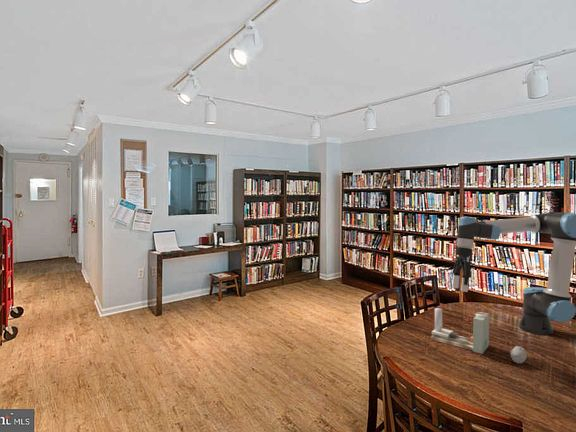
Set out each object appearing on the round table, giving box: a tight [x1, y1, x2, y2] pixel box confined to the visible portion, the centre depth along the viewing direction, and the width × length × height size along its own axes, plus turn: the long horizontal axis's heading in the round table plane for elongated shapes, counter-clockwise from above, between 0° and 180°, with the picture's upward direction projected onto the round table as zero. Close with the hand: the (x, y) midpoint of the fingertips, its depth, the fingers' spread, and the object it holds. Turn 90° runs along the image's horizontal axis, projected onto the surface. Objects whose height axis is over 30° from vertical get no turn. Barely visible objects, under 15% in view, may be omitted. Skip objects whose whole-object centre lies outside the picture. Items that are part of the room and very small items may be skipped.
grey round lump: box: [509, 345, 528, 365], centre depth 152 cm, size 6×7×7 cm
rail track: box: [430, 333, 473, 351], centre depth 174 cm, size 20×10×2 cm, turn 47°
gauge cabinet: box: [472, 311, 490, 354], centre depth 166 cm, size 5×12×17 cm, turn 137°
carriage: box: [431, 307, 459, 338], centre depth 177 cm, size 11×8×12 cm
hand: (459, 289), depth 172 cm, fingers open, 13 cm apart
